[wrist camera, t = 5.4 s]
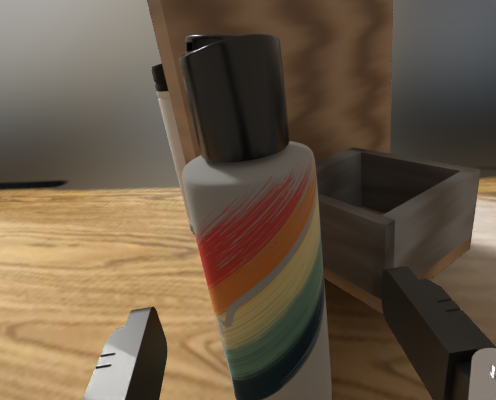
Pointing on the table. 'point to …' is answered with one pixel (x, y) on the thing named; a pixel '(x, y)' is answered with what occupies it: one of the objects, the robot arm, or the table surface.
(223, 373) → the table surface
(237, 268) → the lotion bottle
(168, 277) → the table surface
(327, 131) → the bracket
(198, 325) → the table surface
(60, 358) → the table surface
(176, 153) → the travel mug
